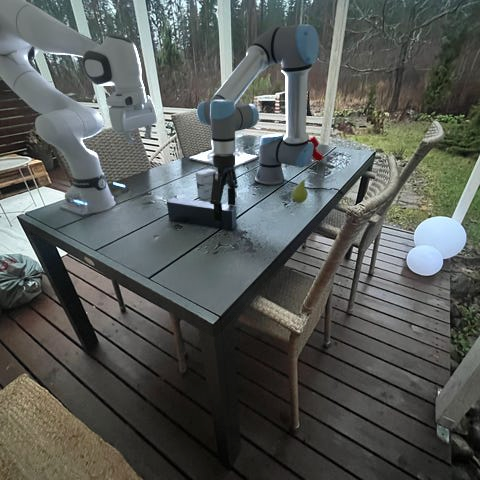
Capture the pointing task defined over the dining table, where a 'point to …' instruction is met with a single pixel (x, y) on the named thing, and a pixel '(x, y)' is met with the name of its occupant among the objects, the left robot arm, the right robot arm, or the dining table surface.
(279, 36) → the right robot arm
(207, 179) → the ink box
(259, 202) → the dining table surface
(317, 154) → the toy gun
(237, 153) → the relief map
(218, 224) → the bar
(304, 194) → the fruit
